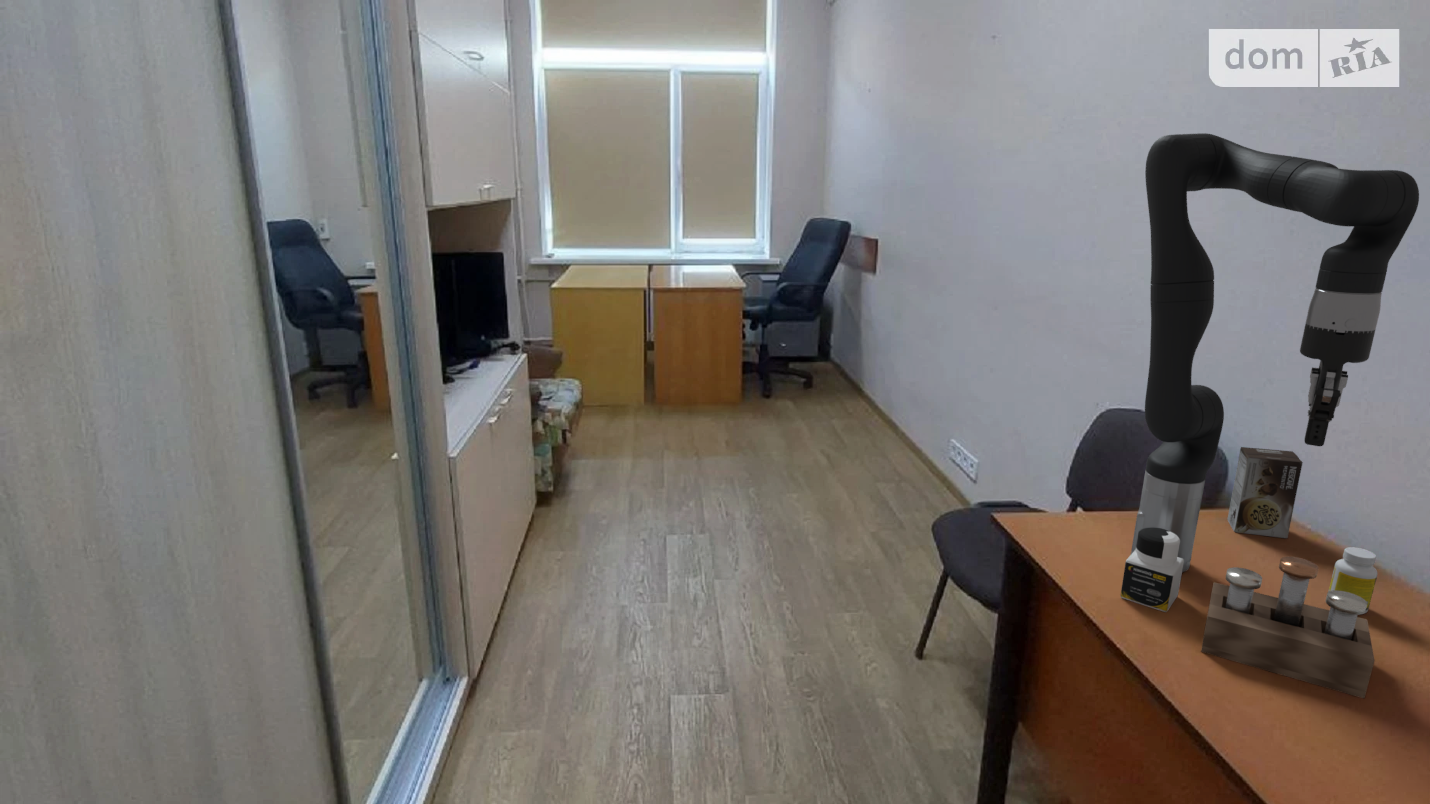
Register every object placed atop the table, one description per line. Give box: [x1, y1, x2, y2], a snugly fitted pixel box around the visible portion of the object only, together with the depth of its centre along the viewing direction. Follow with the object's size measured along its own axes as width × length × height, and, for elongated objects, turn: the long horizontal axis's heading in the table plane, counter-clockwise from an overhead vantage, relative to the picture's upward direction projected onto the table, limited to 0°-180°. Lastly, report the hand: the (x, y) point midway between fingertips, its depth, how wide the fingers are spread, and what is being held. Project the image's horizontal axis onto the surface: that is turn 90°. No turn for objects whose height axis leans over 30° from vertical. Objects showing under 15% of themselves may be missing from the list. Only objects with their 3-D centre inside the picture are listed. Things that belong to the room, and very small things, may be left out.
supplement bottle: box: [1327, 546, 1378, 614], centre depth 125 cm, size 5×5×10 cm
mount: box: [1200, 581, 1375, 699], centre depth 114 cm, size 19×12×6 cm, turn 55°
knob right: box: [1324, 590, 1367, 640], centre depth 109 cm, size 4×4×10 cm
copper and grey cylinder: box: [1273, 556, 1319, 627], centre depth 112 cm, size 4×4×10 cm
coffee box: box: [1226, 446, 1304, 539], centre depth 152 cm, size 9×6×16 cm
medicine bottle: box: [1119, 527, 1184, 613], centre depth 128 cm, size 7×7×12 cm
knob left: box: [1225, 566, 1263, 614], centre depth 116 cm, size 4×4×10 cm
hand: (1313, 444), depth 109 cm, fingers closed
